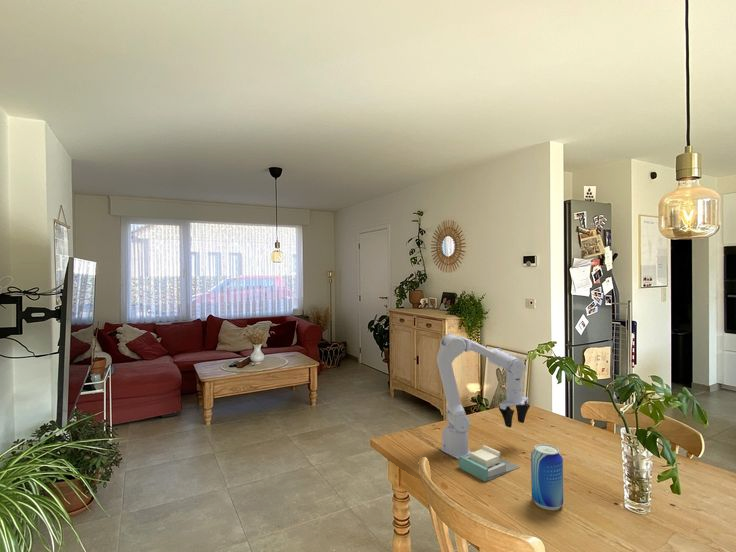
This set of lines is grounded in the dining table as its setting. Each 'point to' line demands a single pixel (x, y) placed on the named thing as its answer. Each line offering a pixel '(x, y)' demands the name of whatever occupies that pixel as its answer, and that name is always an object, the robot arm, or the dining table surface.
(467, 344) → the robot arm
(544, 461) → the beer can
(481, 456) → the cream notched block
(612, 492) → the dining table surface
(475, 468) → the dock
